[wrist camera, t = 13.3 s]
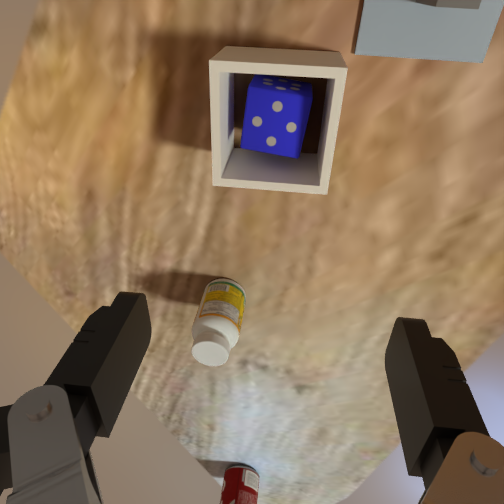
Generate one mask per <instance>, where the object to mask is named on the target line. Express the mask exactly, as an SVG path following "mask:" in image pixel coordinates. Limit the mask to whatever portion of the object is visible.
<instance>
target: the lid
mask: <svg viewBox="0 0 504 504" xmlns="http://www.w3.org/2000/svg"><path fill="white" fill-rule="evenodd" d="M503 5H504V0H364V4H363V10H362V15H361V21H360V26H359V32H358V37H357V43H356V48H355V54H356V55H371V56H386V57H401V58H416V59H431V60H446V61H461V62H476V63H483V60H484V58H485V55H486V52H487V49H488V47H489V44H490V41H491V38H492V35H493V33H494V30H495V27H496V24H497V22H498V19H499V16H500V13H501V11H502V8H503Z"/></svg>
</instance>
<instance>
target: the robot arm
mask: <svg viewBox="0 0 504 504" xmlns="http://www.w3.org/2000/svg"><path fill="white" fill-rule="evenodd" d="M150 339H151V322H150V316H149V311H148V305H147V300H146V296H145V294H143V293H133V292H119V293H118V295H117V296H116V298H115V299H114V301H113V303H112V304H111V306H102V307H100V308H99V309H98V310H97V311H95V312H94V313H93V314H91V315H90V316H89V317H88V319H87V320H86V322H85V323H84V325H83V326H82V328H81V331H80V332H78V334H77V335H76V337H75V339H74V342H73V343H71V345H70V346H69V348H68V349H67V351H66V352H65V354H64V355H63V357H62V358H61V360H60V362H59V363H58V364H57V366H56V368H55V369H54V370H53V372H52V374H51V375H50V377H49V378H48V380H47V381H46V382H45V384H44V385H43V386H40V387H37V388H34V389H32V390H30V391H28V392H26V393H25V394H24V395H22V396H21V397H20V398H19V399H18V400H17V401H16V402H15V403H14V404H12V405H8V406H3V407H0V495H1V494H2V492H3V490H4V489H7V488H12V487H13V492H12V494H10V495H9V496H8V497H7V500H6V504H104V503H103V499H102V495H101V491H100V487H99V483H98V479H97V475H96V471H95V467H94V463H93V459H92V455H91V452H90V447H91V445H92V443H93V441H94V438H95V436H100V437H107V438H109V436H110V433H111V431H112V429H113V426H114V424H115V422H116V420H117V417H118V415H119V413H120V410H121V408H122V406H123V403H124V401H125V399H126V397H127V394H128V392H129V390H130V387H131V385H132V383H133V380H134V378H135V376H136V374H137V371H138V369H139V367H140V364H141V362H142V360H143V357H144V355H145V353H146V351H147V348H148V346H149V343H150ZM385 370H386V374H387V379H388V384H389V388H390V393H391V397H392V402H393V407H394V411H395V416H396V420H397V425H398V429H399V434H400V439H401V443H402V447H403V452H404V457H405V461H406V466H407V471H408V475H409V476H418V477H422V478H423V481H424V486H425V491H424V493H423V495H422V497H421V498H420V500H419V502H418V504H504V447H503V446H502V445H501V444H500V443H499V442H497V441H496V440H494V439H493V438H491V437H490V435H489V433H488V431H487V429H486V426H485V424H484V422H483V419H482V417H481V414H480V412H479V410H478V407H477V405H476V402H475V400H474V398H473V395H472V393H471V390H470V388H469V386H468V384H466V378H465V376H464V374H463V371H461V367H460V364H459V362H458V359H457V357H456V355H455V352H454V351H453V350H452V349H451V348H450V347H449V346H448V345H447V344H446V342H445V341H444V340H443V339H442V338H434V337H431V334H430V331H429V329H428V326H427V323H426V322H425V320H423V319H414V318H403V317H398V318H397V319H396V321H395V324H394V327H393V330H392V333H391V336H390V339H389V343H388V346H387V349H386V353H385Z"/></svg>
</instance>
